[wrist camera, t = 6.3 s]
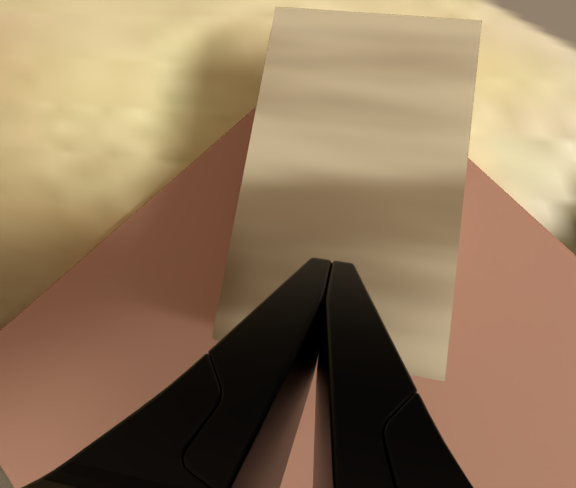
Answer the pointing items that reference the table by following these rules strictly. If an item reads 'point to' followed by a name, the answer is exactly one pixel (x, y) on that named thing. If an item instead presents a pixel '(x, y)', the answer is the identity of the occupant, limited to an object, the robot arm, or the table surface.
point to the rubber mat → (299, 471)
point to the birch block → (359, 168)
